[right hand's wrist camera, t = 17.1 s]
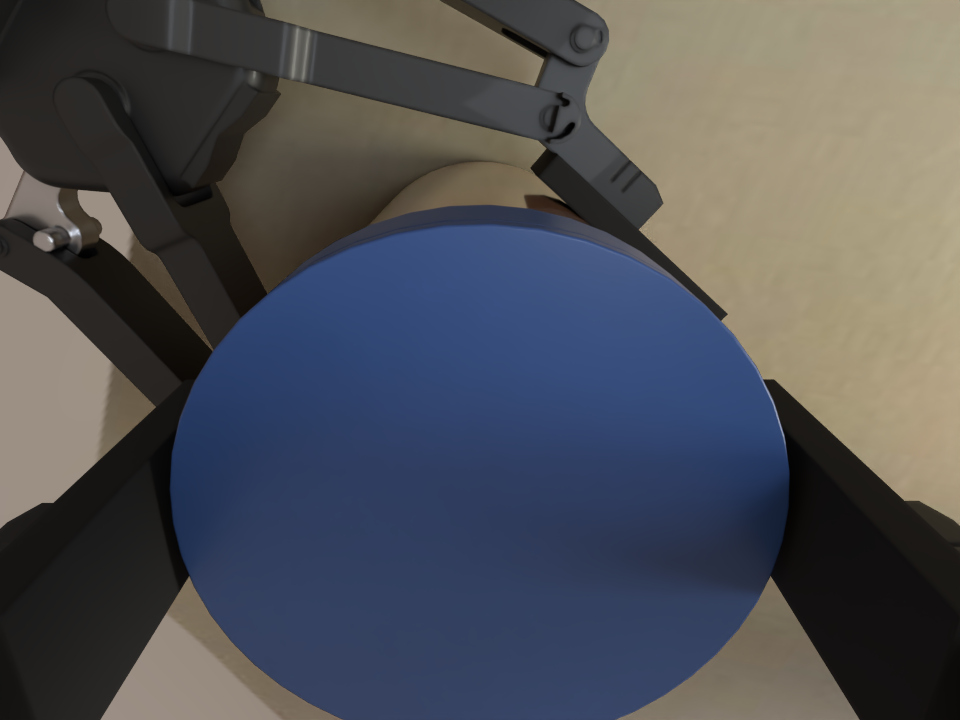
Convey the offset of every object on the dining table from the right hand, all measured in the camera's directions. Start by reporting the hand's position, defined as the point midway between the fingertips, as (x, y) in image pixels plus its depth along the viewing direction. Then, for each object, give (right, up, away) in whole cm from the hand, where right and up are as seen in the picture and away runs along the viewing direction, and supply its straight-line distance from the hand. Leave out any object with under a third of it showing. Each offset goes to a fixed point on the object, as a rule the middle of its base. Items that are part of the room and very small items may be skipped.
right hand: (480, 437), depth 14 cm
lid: (0, -1, -3) cm, 3 cm away
